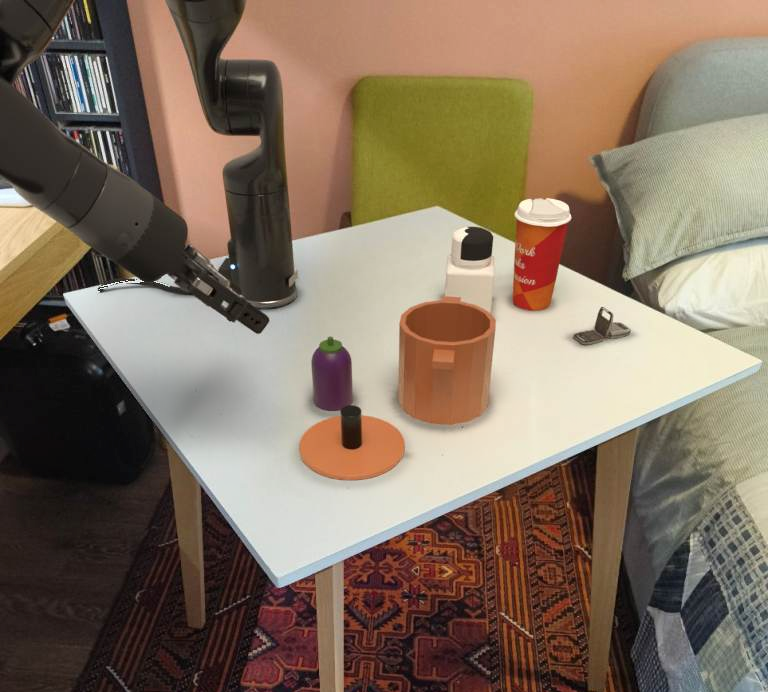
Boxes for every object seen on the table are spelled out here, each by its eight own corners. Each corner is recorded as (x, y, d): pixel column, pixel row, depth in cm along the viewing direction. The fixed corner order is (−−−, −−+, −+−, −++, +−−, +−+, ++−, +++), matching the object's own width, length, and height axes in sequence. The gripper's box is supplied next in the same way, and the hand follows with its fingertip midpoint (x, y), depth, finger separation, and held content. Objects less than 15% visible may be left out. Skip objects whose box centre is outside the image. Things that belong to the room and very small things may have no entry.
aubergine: (310, 413, 98) (305, 346, 91) (318, 392, 101) (313, 326, 95) (349, 416, 97) (347, 348, 91) (355, 395, 101) (353, 329, 95)
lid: (289, 480, 87) (285, 438, 83) (311, 419, 97) (308, 379, 93) (398, 488, 86) (399, 446, 82) (409, 426, 95) (410, 385, 92)
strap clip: (619, 326, 116) (624, 299, 113) (631, 335, 113) (637, 308, 111) (571, 337, 113) (576, 310, 110) (583, 346, 111) (588, 319, 108)
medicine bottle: (490, 298, 123) (497, 223, 115) (490, 319, 117) (498, 241, 110) (445, 296, 123) (449, 221, 116) (443, 316, 118) (447, 239, 110)
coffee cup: (500, 292, 125) (510, 197, 115) (550, 290, 125) (564, 195, 115) (511, 315, 118) (522, 217, 108) (564, 313, 119) (580, 215, 109)
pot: (391, 437, 94) (392, 352, 86) (405, 367, 106) (407, 288, 99) (485, 443, 93) (494, 359, 85) (488, 372, 105) (496, 293, 98)
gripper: (170, 213, 69) (295, 308, 81) (129, 172, 79) (246, 262, 90) (123, 281, 70) (253, 365, 82) (88, 233, 80) (209, 313, 92)
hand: (249, 311), depth 86 cm, fingers open, 8 cm apart
